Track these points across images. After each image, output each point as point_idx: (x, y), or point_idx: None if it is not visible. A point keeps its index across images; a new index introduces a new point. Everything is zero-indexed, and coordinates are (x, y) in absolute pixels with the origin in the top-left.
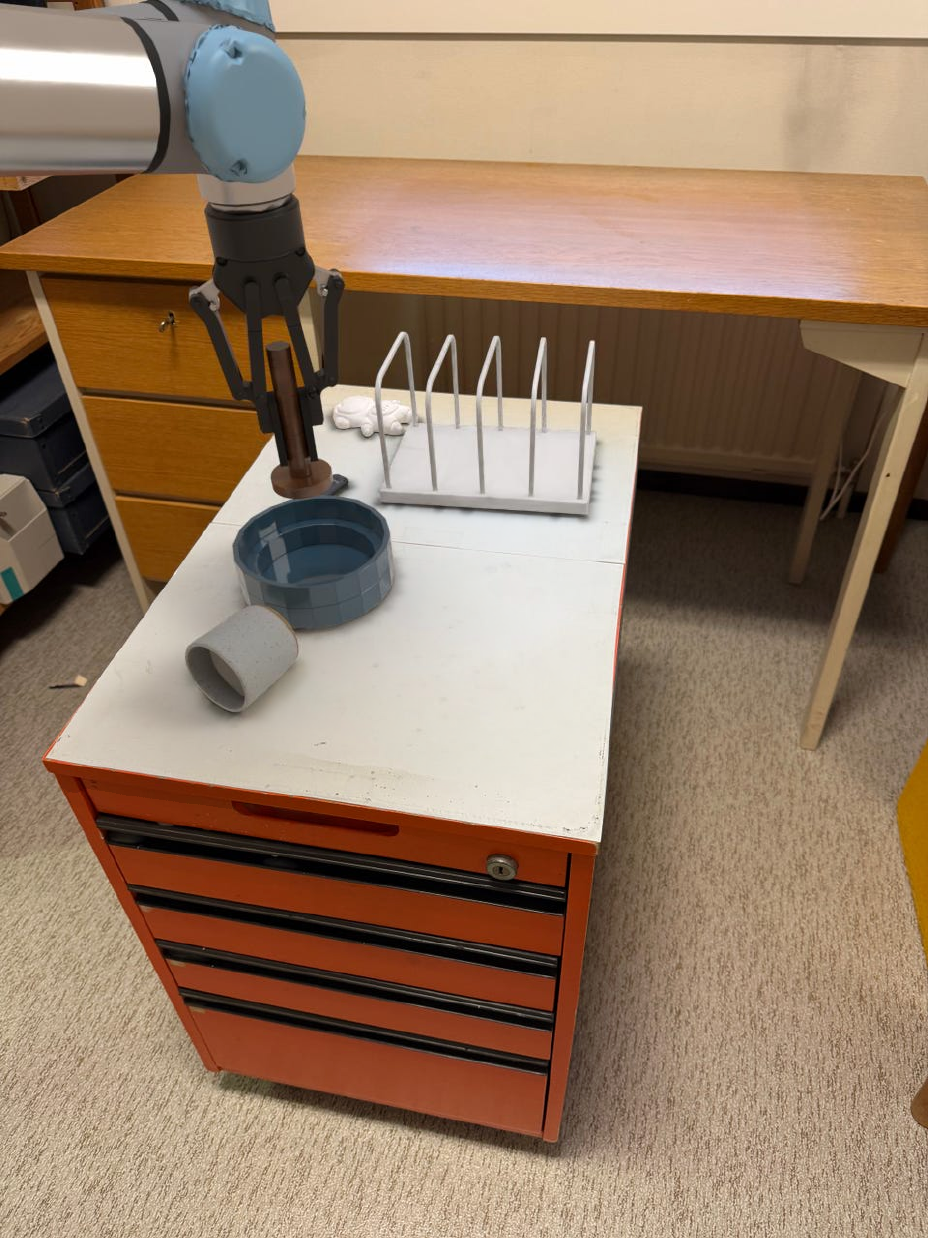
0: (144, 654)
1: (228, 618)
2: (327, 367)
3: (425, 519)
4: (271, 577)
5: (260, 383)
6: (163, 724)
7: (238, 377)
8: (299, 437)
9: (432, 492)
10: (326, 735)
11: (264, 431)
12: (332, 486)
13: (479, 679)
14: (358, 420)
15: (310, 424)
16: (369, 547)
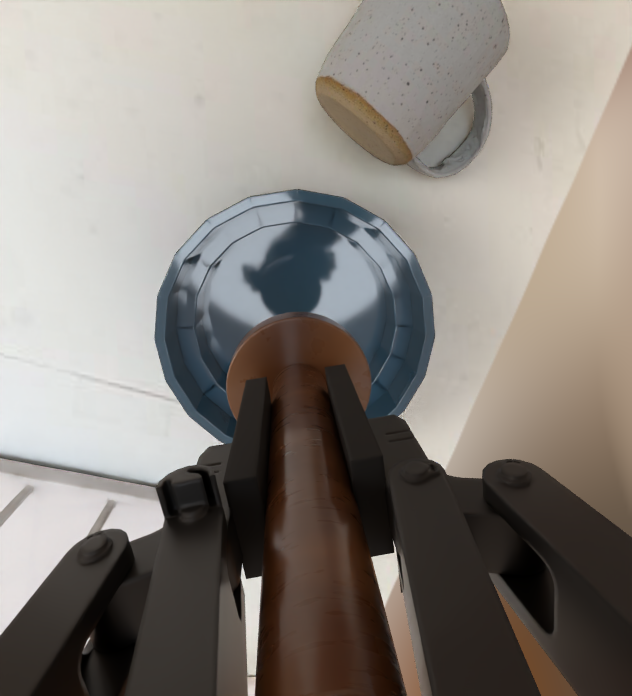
0: (546, 184)
1: (439, 95)
2: (74, 605)
3: (136, 452)
4: (367, 330)
5: (424, 519)
6: (517, 12)
7: (546, 532)
8: (285, 413)
9: (115, 497)
10: None
11: (391, 418)
12: None
13: (24, 34)
14: (248, 687)
15: (241, 428)
16: (212, 365)
